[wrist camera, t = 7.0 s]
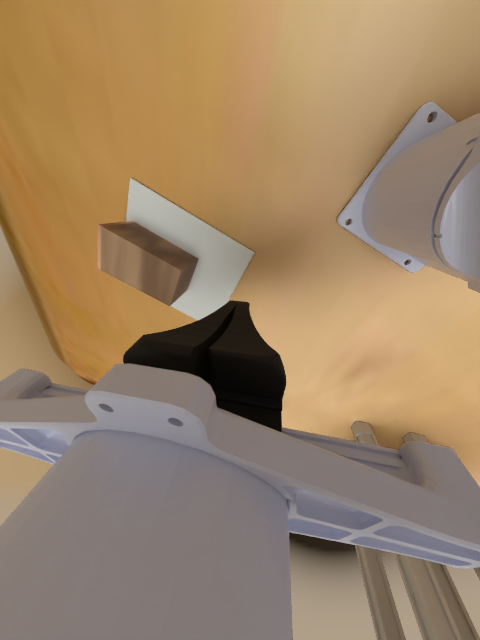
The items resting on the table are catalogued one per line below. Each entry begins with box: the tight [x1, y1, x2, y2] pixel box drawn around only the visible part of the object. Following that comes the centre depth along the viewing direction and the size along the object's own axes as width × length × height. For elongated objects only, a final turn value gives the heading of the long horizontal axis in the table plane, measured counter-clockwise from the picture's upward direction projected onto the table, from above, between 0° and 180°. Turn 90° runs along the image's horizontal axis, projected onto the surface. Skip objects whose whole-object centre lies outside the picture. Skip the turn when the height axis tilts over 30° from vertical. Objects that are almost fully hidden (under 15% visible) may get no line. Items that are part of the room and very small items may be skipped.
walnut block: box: [98, 221, 199, 306], centre depth 19 cm, size 4×4×8 cm
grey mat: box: [126, 178, 255, 320], centre depth 21 cm, size 14×12×1 cm
